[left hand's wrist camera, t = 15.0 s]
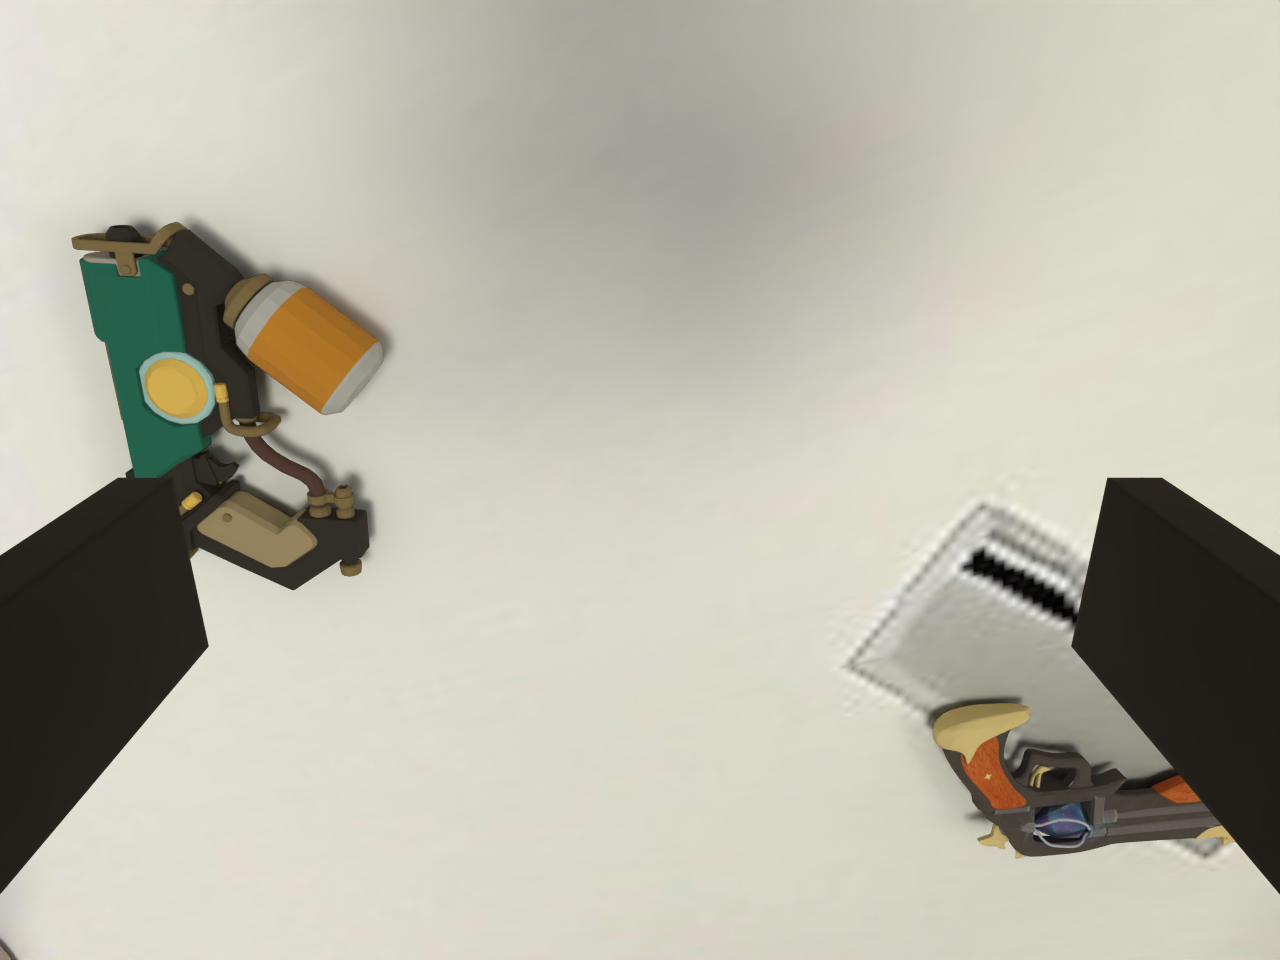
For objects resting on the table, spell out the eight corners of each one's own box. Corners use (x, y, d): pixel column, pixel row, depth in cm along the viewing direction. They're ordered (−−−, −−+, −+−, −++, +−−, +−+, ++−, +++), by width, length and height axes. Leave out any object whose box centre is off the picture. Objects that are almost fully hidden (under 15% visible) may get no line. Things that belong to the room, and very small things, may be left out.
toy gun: (944, 726, 47) (938, 883, 49) (1285, 697, 47) (1262, 853, 50) (925, 701, 49) (920, 851, 52) (1248, 674, 50) (1228, 823, 53)
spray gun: (366, 588, 47) (87, 501, 46) (435, 298, 40) (111, 186, 39) (336, 633, 43) (32, 540, 42) (408, 320, 36) (47, 197, 35)
